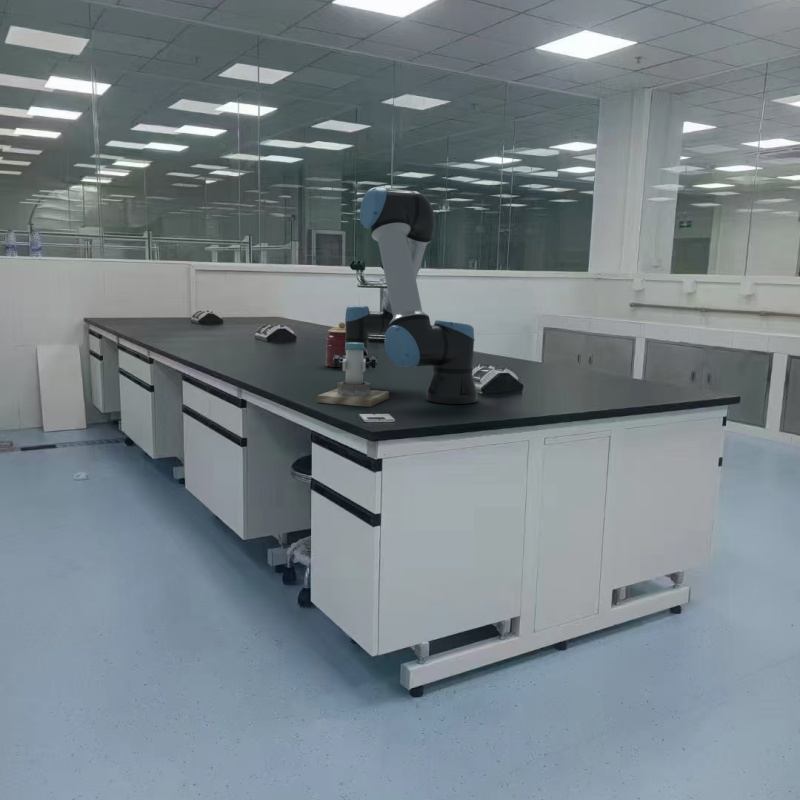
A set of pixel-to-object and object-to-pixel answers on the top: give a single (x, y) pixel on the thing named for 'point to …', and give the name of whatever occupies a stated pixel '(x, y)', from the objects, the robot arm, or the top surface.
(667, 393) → the top surface
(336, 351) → the canister
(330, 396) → the collar base
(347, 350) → the canister
